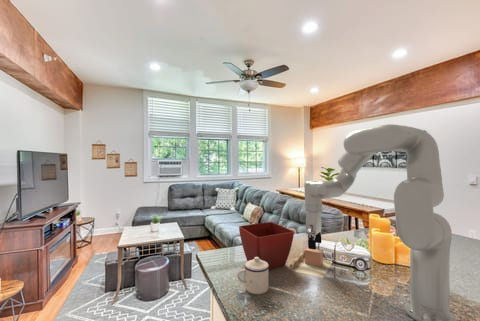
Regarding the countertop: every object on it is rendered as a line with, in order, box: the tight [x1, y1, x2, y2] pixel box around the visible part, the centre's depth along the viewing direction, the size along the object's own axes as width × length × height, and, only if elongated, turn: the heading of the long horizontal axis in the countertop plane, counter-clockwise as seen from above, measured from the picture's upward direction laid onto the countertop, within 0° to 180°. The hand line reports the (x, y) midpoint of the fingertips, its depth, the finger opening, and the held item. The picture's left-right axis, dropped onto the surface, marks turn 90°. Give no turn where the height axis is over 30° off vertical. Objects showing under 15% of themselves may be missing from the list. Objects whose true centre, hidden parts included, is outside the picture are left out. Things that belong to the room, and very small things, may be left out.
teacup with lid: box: [236, 257, 270, 295], centre depth 91 cm, size 12×9×12 cm
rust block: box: [304, 247, 324, 267], centre depth 111 cm, size 7×4×6 cm, turn 58°
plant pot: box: [238, 221, 295, 271], centre depth 111 cm, size 19×19×17 cm
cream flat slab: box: [289, 249, 333, 279], centre depth 109 cm, size 21×14×3 cm, turn 148°
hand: (315, 245), depth 110 cm, fingers open, 9 cm apart
